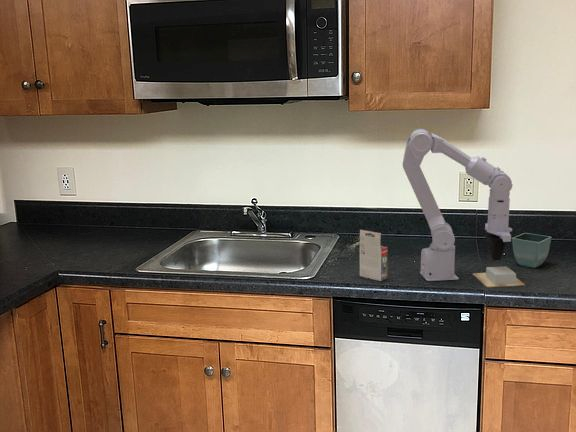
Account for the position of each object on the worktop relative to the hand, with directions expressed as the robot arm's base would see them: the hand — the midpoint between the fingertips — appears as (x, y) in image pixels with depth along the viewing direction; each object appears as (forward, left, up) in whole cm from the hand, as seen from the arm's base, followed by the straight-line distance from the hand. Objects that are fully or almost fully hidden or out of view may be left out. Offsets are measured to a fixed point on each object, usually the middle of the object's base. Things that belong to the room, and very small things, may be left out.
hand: (496, 259), depth 191 cm
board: (0, -2, -6) cm, 6 cm away
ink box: (-35, +6, -6) cm, 36 cm away
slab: (0, 0, -4) cm, 4 cm away
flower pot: (+15, +11, -6) cm, 19 cm away
